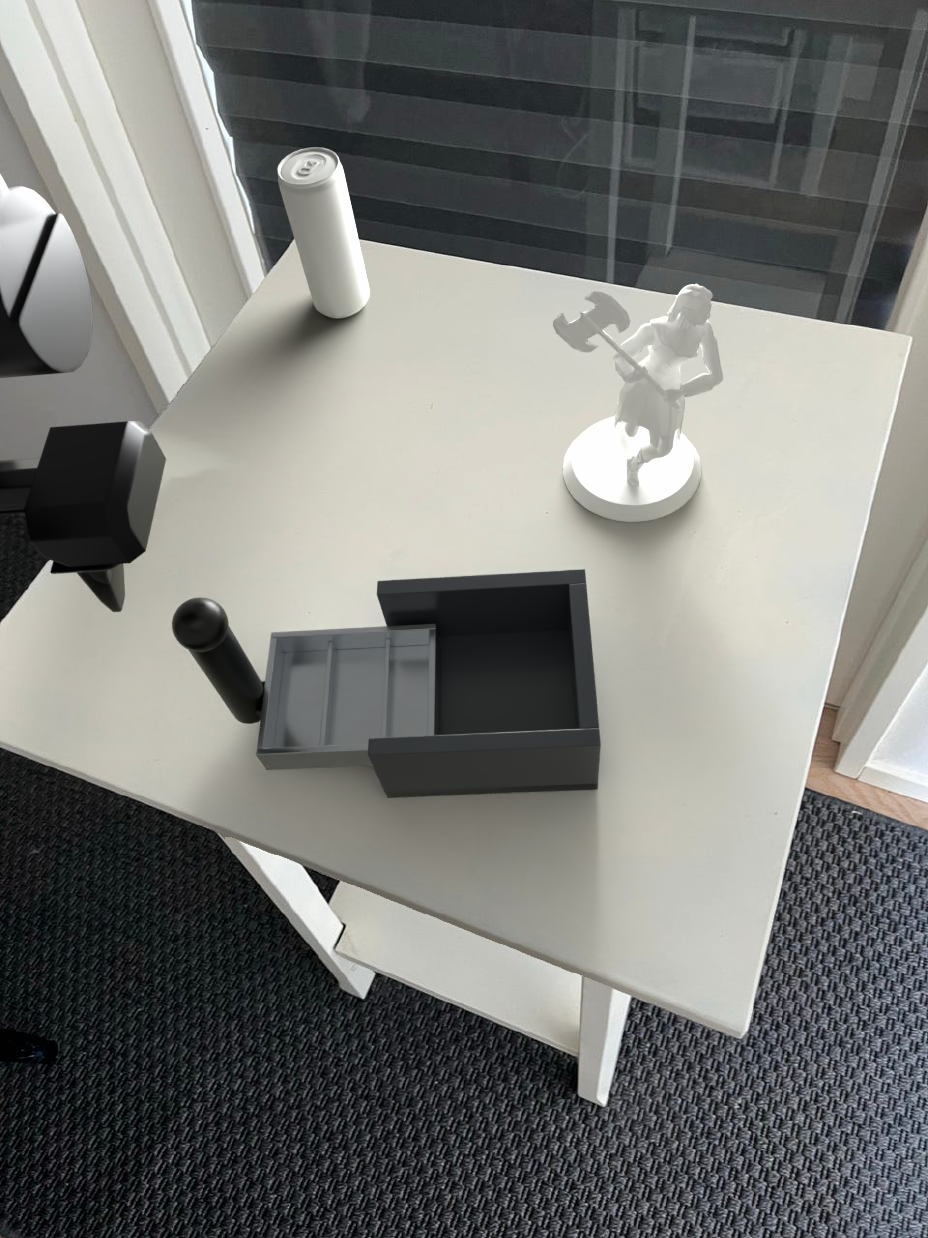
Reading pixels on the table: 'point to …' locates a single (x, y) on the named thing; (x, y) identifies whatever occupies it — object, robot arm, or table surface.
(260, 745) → the pull-out drawer
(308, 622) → the table surface
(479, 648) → the grey drawer case
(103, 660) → the table surface
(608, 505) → the figurine
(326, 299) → the beverage can
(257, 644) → the table surface
